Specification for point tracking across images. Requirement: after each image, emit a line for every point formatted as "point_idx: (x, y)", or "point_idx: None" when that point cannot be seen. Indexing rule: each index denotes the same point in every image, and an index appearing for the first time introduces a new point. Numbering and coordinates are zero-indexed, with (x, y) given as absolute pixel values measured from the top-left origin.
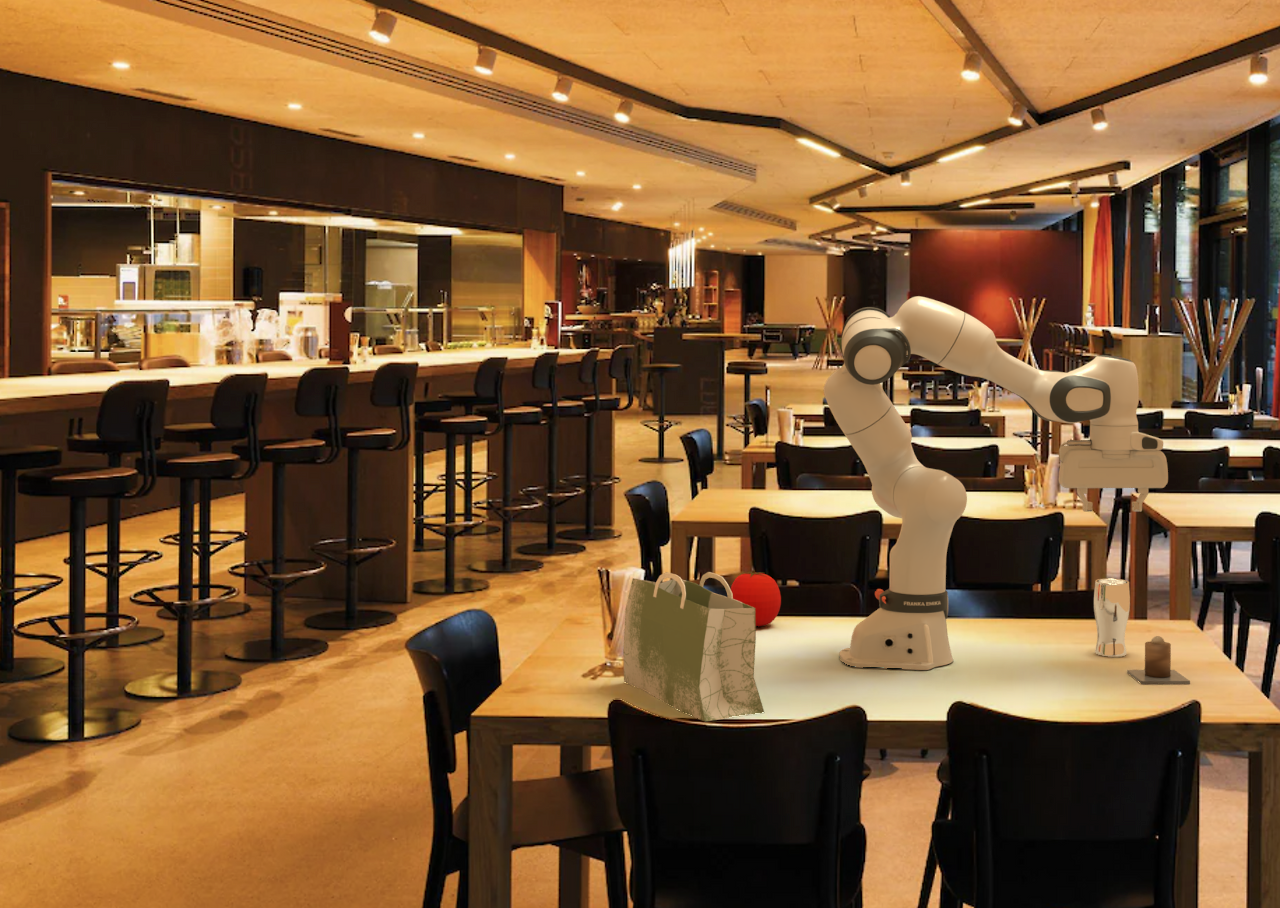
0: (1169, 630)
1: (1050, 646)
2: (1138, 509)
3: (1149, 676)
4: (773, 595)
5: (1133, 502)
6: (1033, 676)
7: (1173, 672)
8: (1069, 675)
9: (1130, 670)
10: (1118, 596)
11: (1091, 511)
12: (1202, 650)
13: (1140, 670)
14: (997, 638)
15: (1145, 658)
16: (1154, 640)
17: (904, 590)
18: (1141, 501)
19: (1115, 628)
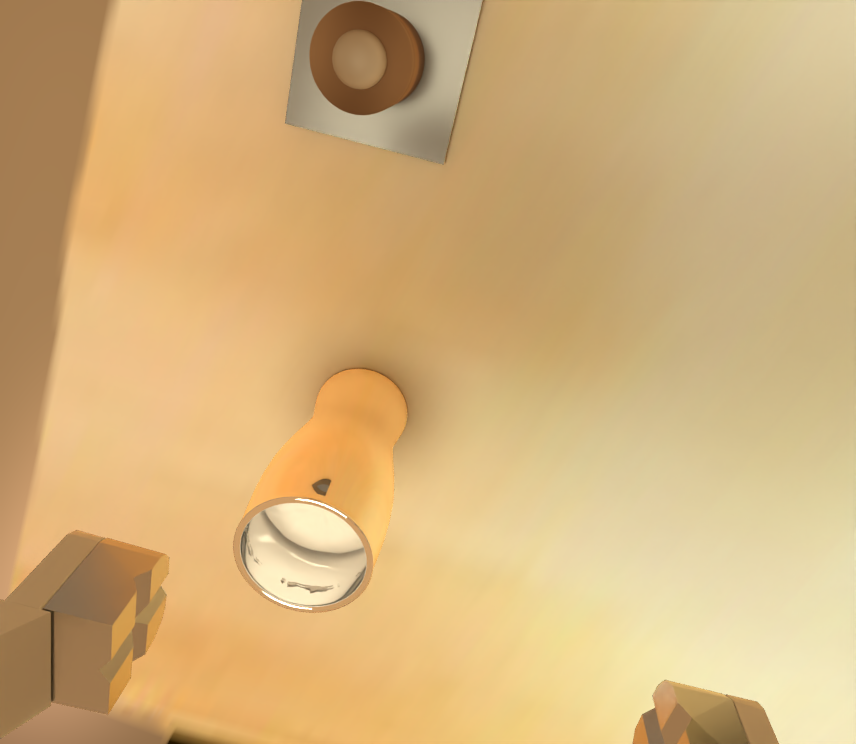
0: None
1: (482, 537)
2: (108, 547)
3: None
4: None
5: (106, 672)
6: (781, 202)
7: (306, 84)
8: (652, 183)
9: (436, 154)
10: (320, 466)
11: (665, 684)
12: (71, 380)
13: (403, 144)
14: (573, 650)
15: (417, 70)
16: (379, 47)
17: None
18: (4, 612)
19: (352, 413)
